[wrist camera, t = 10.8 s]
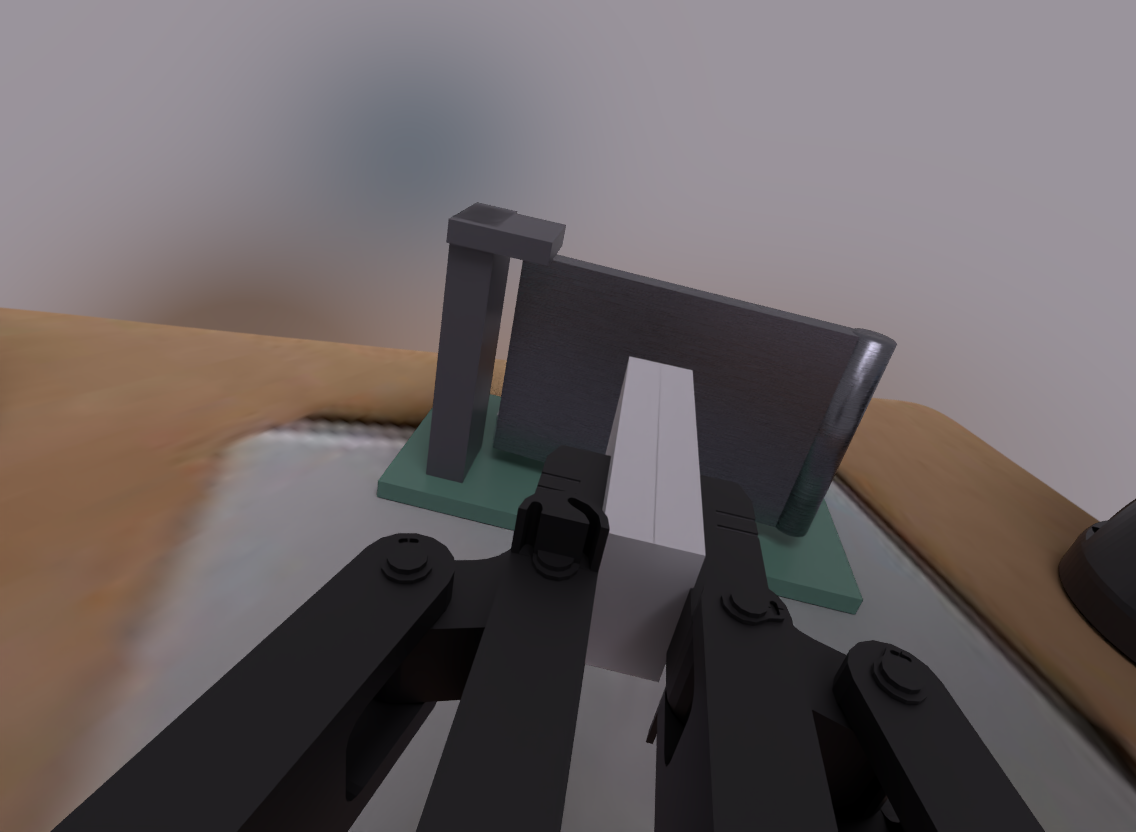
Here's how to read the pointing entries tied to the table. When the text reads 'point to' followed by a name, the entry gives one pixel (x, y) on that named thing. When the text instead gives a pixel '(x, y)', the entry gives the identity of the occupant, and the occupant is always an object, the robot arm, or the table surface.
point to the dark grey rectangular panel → (720, 376)
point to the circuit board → (507, 479)
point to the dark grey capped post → (476, 324)
